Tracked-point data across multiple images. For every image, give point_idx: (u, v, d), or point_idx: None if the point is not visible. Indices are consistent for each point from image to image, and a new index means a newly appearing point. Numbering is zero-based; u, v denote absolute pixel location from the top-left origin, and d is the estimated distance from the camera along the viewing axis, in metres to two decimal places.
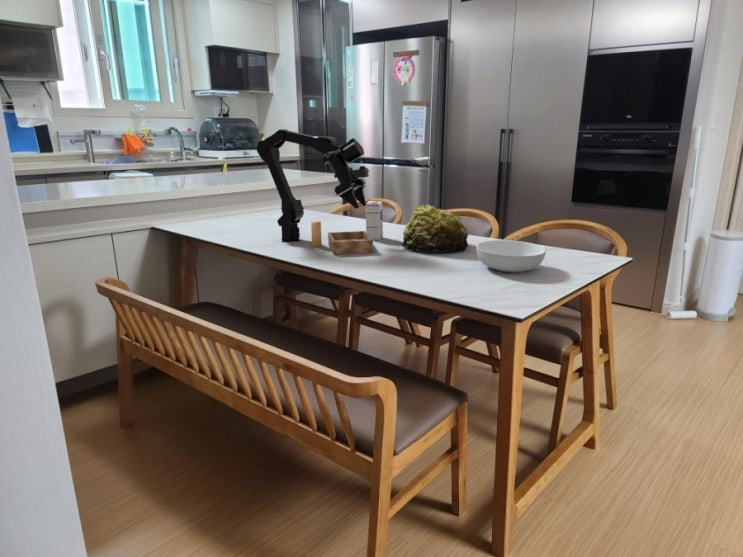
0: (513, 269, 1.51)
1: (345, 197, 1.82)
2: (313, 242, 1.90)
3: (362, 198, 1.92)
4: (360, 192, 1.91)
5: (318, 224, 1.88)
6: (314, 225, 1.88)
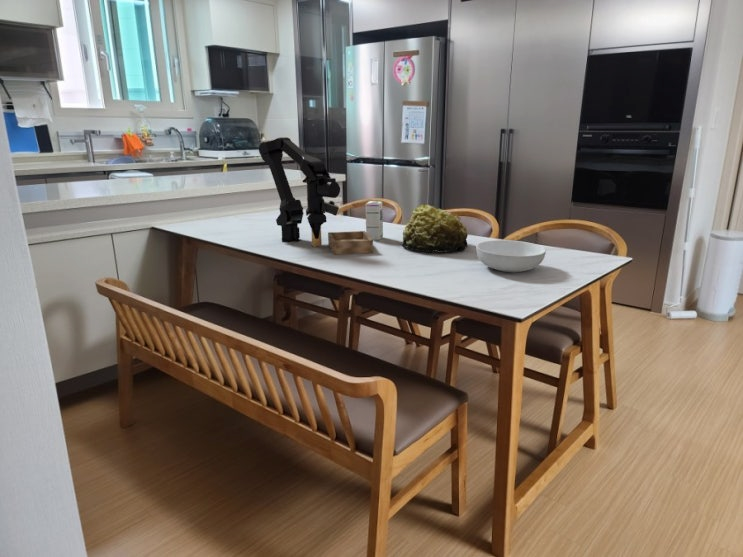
0: (513, 269, 1.51)
1: (312, 225, 1.86)
2: (313, 242, 1.90)
3: None
4: None
5: None
6: None
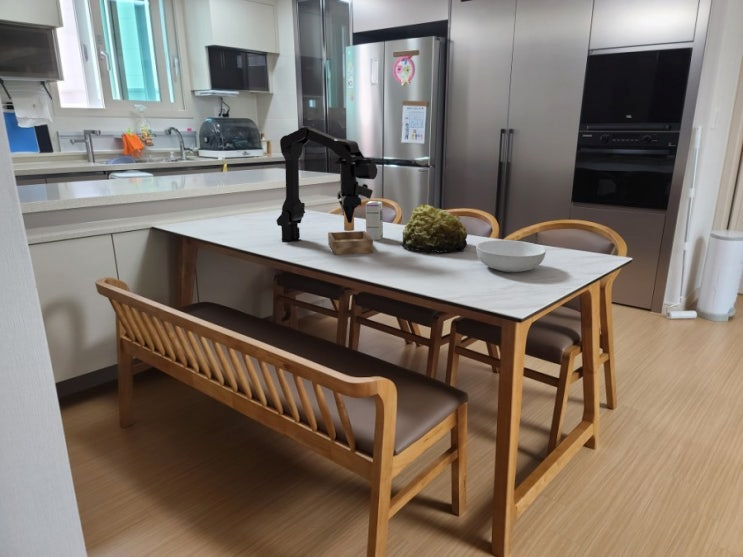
0: (513, 269, 1.51)
1: (346, 208, 1.79)
2: (346, 226, 1.84)
3: None
4: None
5: None
6: None
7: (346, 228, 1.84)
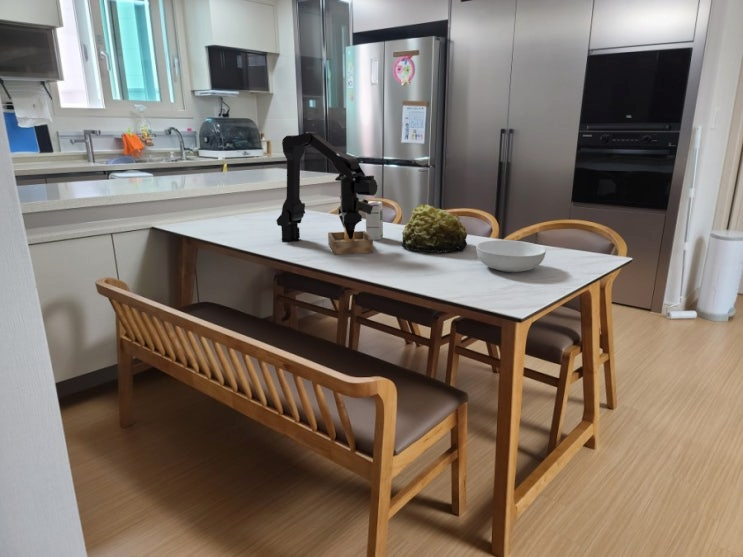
0: (513, 269, 1.51)
1: (347, 225, 1.80)
2: None
3: None
4: None
5: None
6: None
7: None
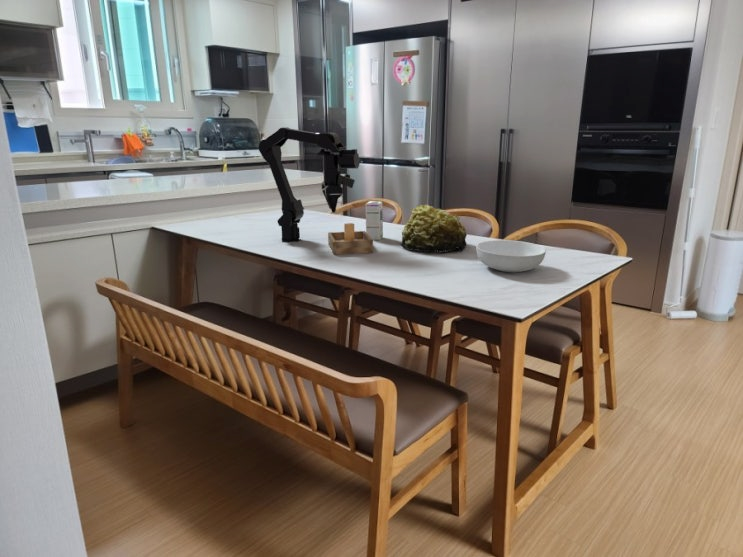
0: (513, 269, 1.51)
1: (329, 198, 1.85)
2: None
3: None
4: None
5: (352, 227, 1.84)
6: (348, 228, 1.83)
7: None
